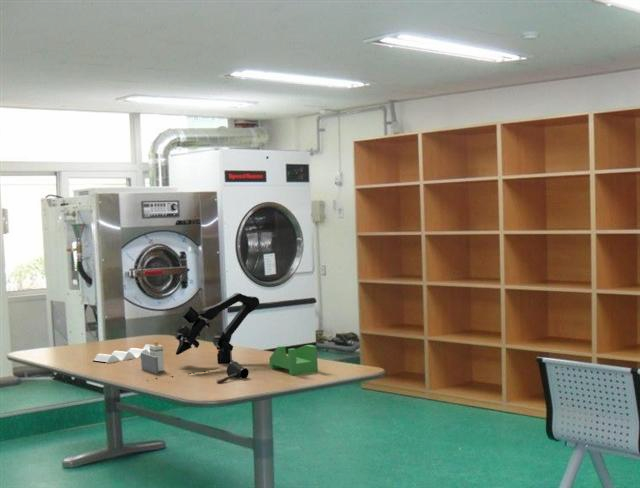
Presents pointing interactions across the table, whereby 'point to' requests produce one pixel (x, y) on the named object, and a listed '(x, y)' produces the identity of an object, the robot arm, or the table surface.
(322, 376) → the table surface
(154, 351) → the block
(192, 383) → the table surface
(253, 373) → the table surface
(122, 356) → the white zigzag rack
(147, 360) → the grey block
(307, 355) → the green cradle stand
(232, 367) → the coffee pot
